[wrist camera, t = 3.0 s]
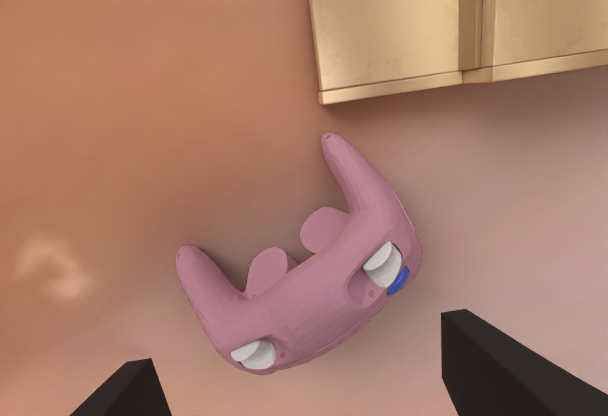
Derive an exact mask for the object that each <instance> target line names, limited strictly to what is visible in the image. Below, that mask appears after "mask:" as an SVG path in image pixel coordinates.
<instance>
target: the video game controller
mask: <svg viewBox="0 0 608 416" xmlns="http://www.w3.org/2000/svg"><path fill="white" fill-rule="evenodd" d="M321 149H322V152H323V154H324V157H325V160H326V163H327V164H328V166H329V168H330V170H331V172H332V173H333V175H334V177H335V179H336V180H337V182H338V184H339V186H340V187H341V189H342V191H343V193H344V196H345V199H346V201H347V204H348V207H349V211H350V213H346V212H343V211H340V210H338V209H335V208H333V207H323V208H320V209H318V210H316V211H315V212H314V213H312V214H311V215H310V216H309V217H308V218H307V220H306V221H305V223H304V224H303V226H302V229H301V232H300V239H301V242H302V244H303V245H304V247H305V248H306V249H307V250H309V251H310V252H311V253H312V254H313V256H312V257H310V258H309V259H308V260H306V261H304V262H303V263H301V264H300V265H298V266H297V263H296V262H295V261H294V259H292V258H291V257H290V256H289V255H288V254H287V253H286V252H285V251H284V250H282V249H281V248H278V247H272V248H268V249H266V250H264V251H262V252H261V253H259V254H258V255H257V256H256V257H255V258H254V260H253V262H252V264H251V265H250V269H249V273H248V279H247V285H246V289H245V291H244V292H241V291H239V290H238V289H236V288H235V287H234V286H233V285H232V284H231V283H230V282H229V281H228V279H227V278H226V277H225V275H224V274H223V273H222V271H221V270H220V269H219V268H218V266H217V265H216V264H215V263H214V262H213V261H212V260H211V259H210V258H209V257H208V256H207V255H206V254H205V253H204V252H203V251H201V250H199V249H198V248H197V247H195V246H191V245H185V246H183V247H181V248H180V249H179V251H178V253H177V255H176V270H177V274H178V278H179V281H180V283H181V285H182V287H183V289H184V291H185V293H186V295H187V297H188V299H189V301H190V303H191V305H192V307H193V308H194V310H195V312H196V314H197V316H198V318H199V320H200V322H201V324H202V326H203V328H204V330H205V332H206V334H207V336H208V338H209V340H210V342H211V343H212V345H213V346H214V348H215V349H216V351H217V352H218V353H219V354H220V355H221V356H222V357H223V358H224V359H225V360H226V361H228V362H229V363H230V364H231V365H233V366H234V367H236V368H238V369H240V370H243V371H246V372H250V373H253V374H258V375H267V374H272V373H274V372H276V371H277V370H282V369H287V368H291V367H294V366H297V365H300V364H303V363H306V362H308V361H310V360H312V359H314V358H316V357H318V356H321V355H323V354H325V353H326V352H328V351H330V350H331V349H333V348H334V347H336V346H338V345H339V344H341V343H342V342H344V341H345V340H346V339H348V338H349V337H350V336H352V335H353V334H354V333H356V332H357V331H358V330H360V329H361V328H362V327H363V326H364V325H365V324H366V323H367V322H368V321H369V320H370V319H371V318H373V317H374V316H375V315H376V314H377V313H378V312H379V311H380V310H381V309H382V308H383V307H384V305H385V304H386V303H387V302H388V300H389V299H390V298H391V297H392V295H393V294H394V293H396V292H397V291H398V290H400V289H402V288H403V287H405V286H406V285H407V284H408V283H409V282H410V281H411V280H412V279H413V277H414V276H415V275H416V273H417V271H418V270H419V267H420V264H421V261H422V252H423V251H422V247H421V243H420V240H419V238H418V236H417V234H416V232H415V230H414V228H413V225H412V223H411V221H410V219H409V217H408V215H407V213H406V211H405V209H404V207H403V205H402V204H401V202H400V201H399V199H398V197H397V196H396V194H395V193H394V191H393V190H392V189H391V187H390V186H389V185H388V183H387V182H386V181H385V179H384V178H383V177H382V176H381V175H380V174H379V173H378V172H377V171H376V170H375V169H374V168H373V167H372V166H371V164H370V163H369V162H368V161H367V160H366V159H365V158H364V157H363V156H362V155H361V154H360V153H359V152H358V151H357V150H356V149H355V148H354V147H353V146H352V145H351V144H350V143H349V142H348V141H347V140H345V139H344V138H342V137H341V136H339V135H338V134H334V133H331V132H327V133H325V134H323V136H322V138H321Z"/></svg>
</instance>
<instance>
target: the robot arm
mask: <svg viewBox="0 0 608 416" xmlns="http://www.w3.org/2000/svg"><path fill="white" fill-rule="evenodd" d="M441 348H442V379H443V381H444V384H445V386H446V388H447V390H448V393H449V395H450V397H451V400H452V402H453V404H454V406H455V409H456V411H457V413H458V415H459V416H608V395H607V394H606V393H604V392H602V391H600V390H598V389H597V388H595V387H593V386H591V385H589V384H588V383H586V382H584V381H582V380H581V379H579V378H577V377H575V376H574V375H572V374H570V373H569V372H567V371H565V370H563V369H562V368H560V367H558V366H557V365H555V364H553V363H552V362H550V361H548V360H547V359H545V358H543V357H542V356H540V355H539V354H537V353H535V352H534V351H532V350H530V349H529V348H527V347H526V346H524V345H522V344H521V343H519V342H518V341H516V340H514V339H513V338H511V337H510V336H508V335H507V334H505V333H503V332H502V331H500V330H499V329H497V328H495V327H494V326H492V325H491V324H489V323H488V322H486V321H484V320H483V319H481V318H480V317H478V316H476V315H475V314H473V313H472V312H470V311H468V310H466V309H462V310H456V311H449V312H443V313H441ZM70 416H172V415H171V412H170V409H169V406H168V403H167V401H166V398H165V395H164V392H163V390H162V387H161V384H160V381H159V379H158V376H157V373H156V370H155V367H154V365H153V362H152V359H151V358H149V359H143V360H137V361H130V362H126V363H125V364H124V365H123V366H121V367H120V368H119V369H118V370H117V371H116V372H115V373H114V374H113V375H112V376H110V377H109V378H108V379H107V380H106V381H105V382H104V383H103V384H102V385H101V386H100V387H99V388H98V389H97V390H96V391H95V392H94V393H93V394H92V395H90V396H89V397H88V398H87V399H86V400H85V401H84V402H83V403H82V404H81V405H80V406H79V407H78V408H77V409H76V410H75V411H74V412H73V413H72V414H71V415H70Z"/></svg>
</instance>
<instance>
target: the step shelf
mask: <svg viewBox="0 0 608 416" xmlns="http://www.w3.org/2000/svg"><path fill="white" fill-rule="evenodd" d="M309 6H310V15H311V23H312V31H313V40H314V48H315V56H316V65H317V73H318V81H319V90H320V91H321V92H318V97H319V103H320V104H323V105H326V104H333V103H340V102H346V101H353V100H360V99H366V98H373V97H380V96H386V95H393V94H400V93H406V92H413V91H419V90H426V89H433V88H439V87H446V86H453V85H459V84H470V83H489V82H498V81H505V80H512V79H518V78H525V77H532V76H538V75H545V74H552V73H558V72H565V71H571V70H578V69H585V68H591V67H598V66H605V65H608V0H309Z"/></svg>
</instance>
